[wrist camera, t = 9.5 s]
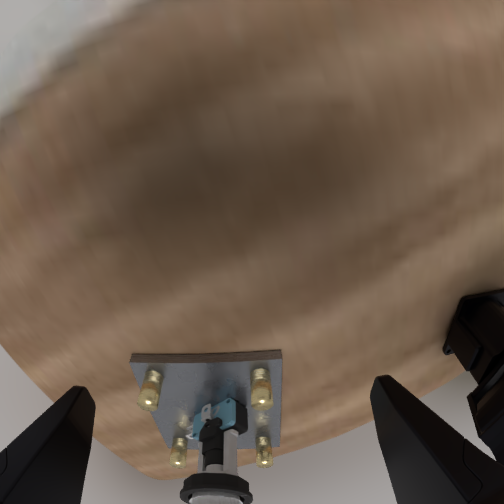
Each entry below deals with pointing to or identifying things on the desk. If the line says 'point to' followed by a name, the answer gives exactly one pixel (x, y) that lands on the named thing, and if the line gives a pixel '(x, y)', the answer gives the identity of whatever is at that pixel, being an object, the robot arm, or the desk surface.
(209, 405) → the push button
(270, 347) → the desk surface
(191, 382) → the chassis
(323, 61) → the desk surface
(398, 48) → the desk surface
